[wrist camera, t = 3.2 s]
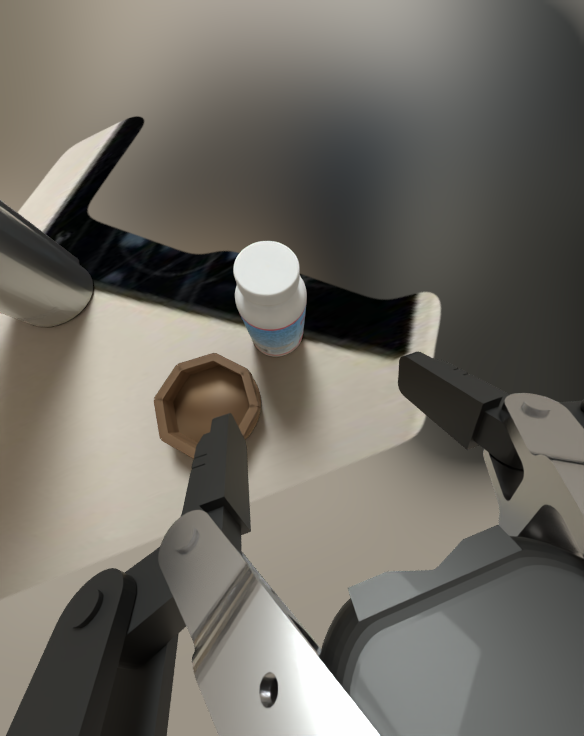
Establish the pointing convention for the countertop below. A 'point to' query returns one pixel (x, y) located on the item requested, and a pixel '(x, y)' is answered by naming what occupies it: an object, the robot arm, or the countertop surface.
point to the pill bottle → (271, 296)
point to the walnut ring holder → (205, 400)
